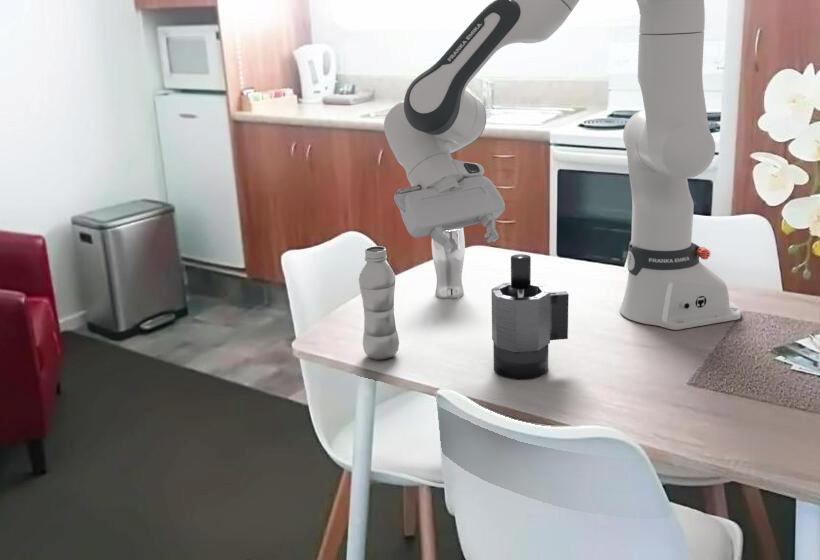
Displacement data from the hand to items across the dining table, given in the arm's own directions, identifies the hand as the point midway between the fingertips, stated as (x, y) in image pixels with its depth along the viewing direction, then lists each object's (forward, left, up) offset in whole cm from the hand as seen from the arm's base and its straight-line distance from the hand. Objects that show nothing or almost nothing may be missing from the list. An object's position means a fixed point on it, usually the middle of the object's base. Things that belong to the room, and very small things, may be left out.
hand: (473, 245), depth 148 cm
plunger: (-6, +10, -14) cm, 18 cm away
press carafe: (-8, +10, -19) cm, 23 cm away
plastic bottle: (+17, 0, -20) cm, 26 cm away
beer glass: (0, -30, -20) cm, 36 cm away
